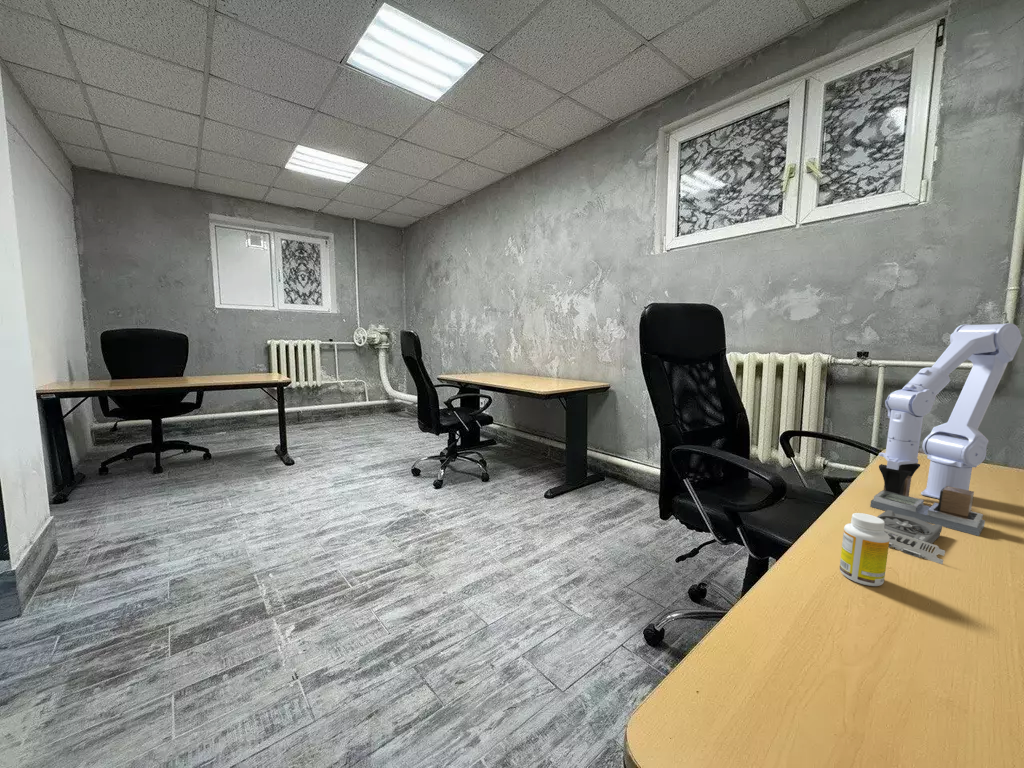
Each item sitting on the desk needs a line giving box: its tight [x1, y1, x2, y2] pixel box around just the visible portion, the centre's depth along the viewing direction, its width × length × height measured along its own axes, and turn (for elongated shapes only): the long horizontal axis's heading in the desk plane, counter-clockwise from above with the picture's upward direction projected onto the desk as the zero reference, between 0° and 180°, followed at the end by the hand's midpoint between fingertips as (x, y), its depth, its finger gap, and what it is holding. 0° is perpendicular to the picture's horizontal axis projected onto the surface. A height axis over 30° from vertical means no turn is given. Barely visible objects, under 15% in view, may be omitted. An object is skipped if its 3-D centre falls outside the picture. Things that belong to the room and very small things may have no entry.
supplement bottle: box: [839, 512, 890, 587], centre depth 66 cm, size 6×6×10 cm
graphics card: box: [876, 510, 946, 565], centre depth 80 cm, size 17×4×12 cm
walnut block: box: [883, 476, 912, 497], centre depth 101 cm, size 4×4×6 cm
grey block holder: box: [869, 486, 986, 537], centre depth 91 cm, size 8×17×8 cm, turn 36°
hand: (896, 492), depth 101 cm, fingers open, 7 cm apart
